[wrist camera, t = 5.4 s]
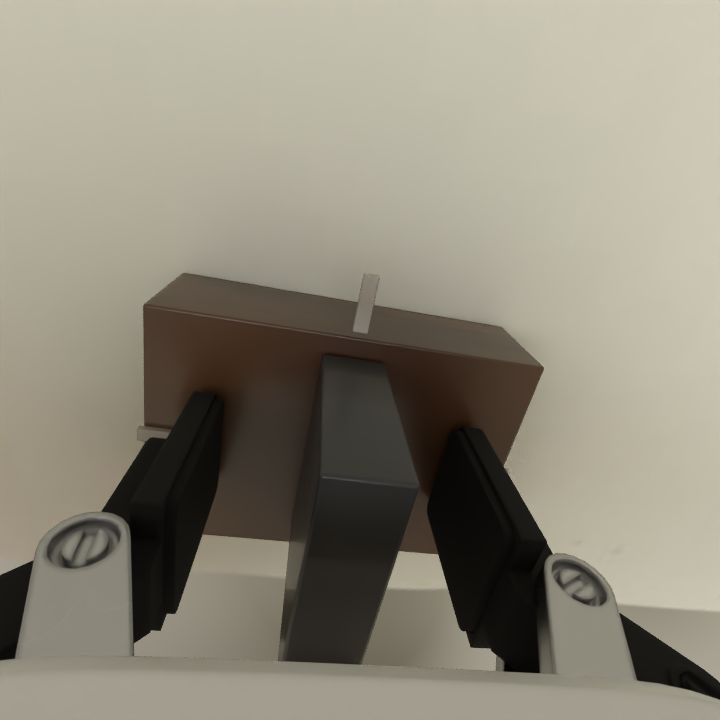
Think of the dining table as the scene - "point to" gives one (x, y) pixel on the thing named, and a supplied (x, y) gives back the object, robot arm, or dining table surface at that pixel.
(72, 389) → the dining table surface
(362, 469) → the bar knob
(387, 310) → the knob base block
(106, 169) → the dining table surface
